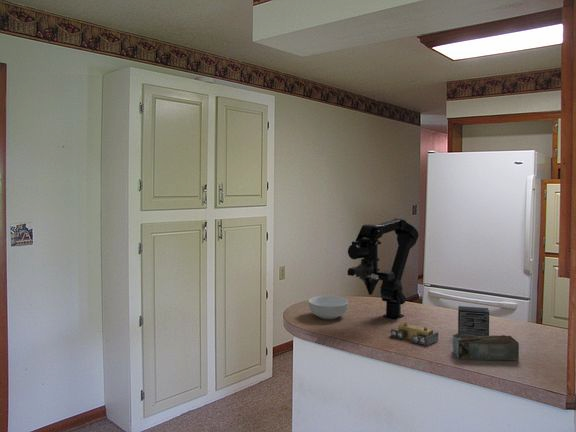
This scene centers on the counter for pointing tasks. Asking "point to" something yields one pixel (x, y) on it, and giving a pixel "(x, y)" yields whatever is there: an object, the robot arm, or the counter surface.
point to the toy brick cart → (417, 337)
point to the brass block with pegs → (414, 330)
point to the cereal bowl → (328, 306)
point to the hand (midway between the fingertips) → (370, 294)
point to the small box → (473, 321)
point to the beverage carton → (485, 347)
